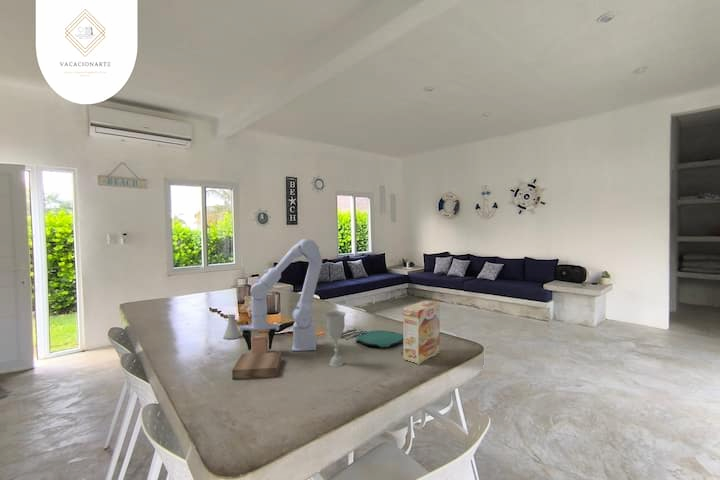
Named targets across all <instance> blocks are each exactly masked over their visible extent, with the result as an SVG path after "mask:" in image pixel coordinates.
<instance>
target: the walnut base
mask: <svg viewBox="0 0 720 480" xmlns="http://www.w3.org/2000/svg"><path fill="white" fill-rule="evenodd" d="M281 363H282V351H275V352H273V351H271V352H267V353H253V354H252V353H241V355H240V356H239V358H238V360H237V361H236V363H235V365H234V367H233V368H232V370H231V371H232V372H231V377H232V380H242V379H243V380H244V379H256V378H257V379H258V378H273V377H274V378H276V377H277V376H278V372H279V369H280V366H281Z"/></svg>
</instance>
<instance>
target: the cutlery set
mask: <svg viewBox="0 0 720 480" xmlns="http://www.w3.org/2000/svg"><path fill="white" fill-rule="evenodd" d="M357 330H358V329H357ZM357 330H356V329H355V332H354V330H353V329H347V330H346V331H343V333H342V335H341V337H340V339H343V338H344V337H346V336H349V337H347V338H345V340H346V341H347V340H349V339H350V338H355V342H356V343H359V342H360V343H361V344H363V345H367V346H371V347H380V348H389V347H391V346H396V345H398V344H401V343H402V342H403V334H402V333H398V332H394V331H388V330H384V329H381V330H370V331H367V330H365V331H362V332H360V331H357ZM359 330H362V329H359ZM359 332H360V333H359ZM365 332H366V333H365ZM353 333H354V334H353ZM360 334H361V335H360ZM350 335H352V336H350ZM355 336H356V337H355Z"/></svg>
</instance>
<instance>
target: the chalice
mask: <svg viewBox="0 0 720 480" xmlns="http://www.w3.org/2000/svg"><path fill="white" fill-rule="evenodd" d="M346 314H347V313H346V312H345V311H337V310H336V311H329V312H326V313H325V316H326V326H327V327H326V328H327V331H328V334H329V336H330V337H331V339H332V340H334V344H333V346H334V349H333V351H334V355H333V356H332V357H331V359H330V361H329V366H331V367H340V366H342V365H344V361H343V359H342V356H341V355H339V350H340V349H339V348H338V346H339V343H338V342H339V340H340V339H341V338H340V337H341V336H342V335H343V334H342V333H344V330H345V325H346V324H345V317H346Z"/></svg>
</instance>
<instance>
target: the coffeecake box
mask: <svg viewBox="0 0 720 480" xmlns="http://www.w3.org/2000/svg"><path fill="white" fill-rule="evenodd" d="M440 305H441V302H440V303H439V302H435V301H429V300H428V301H427V300H423V301H420V302H417V303H414V304H410V305H408V306H404V307H403V308H402V310H403V312H402V313H403V317H402V318H403V326H402V327H403V328H402V330H403V332H402V333H403V341H402V342H403V343H402V344H403V347H402V348H403V349H402V350H403V351H402V352H403V355H402V356H403V357H402V358H403V359H405V360H408V361H407V362H409V361H411V362H410V363H412V362H415V363H418V364H419V363H421V362H423V361H424V360H426V359H428V358H429V357H431V356H432V355H434V354H436V353H437V352H439V351H440V352H441V350H440V333H441V332H440V331H441V330H440V322H441V321H440V320H441V318H440V316H441V315H440V314H441V313H440V311H441V309H440V307H441V306H440ZM403 359H402V360H403ZM405 360H404V361H405ZM428 360H429V359H428ZM426 361H427V360H426ZM423 363H424V362H423ZM418 364H417V365H418ZM421 364H422V363H421ZM419 365H420V364H419Z"/></svg>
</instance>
